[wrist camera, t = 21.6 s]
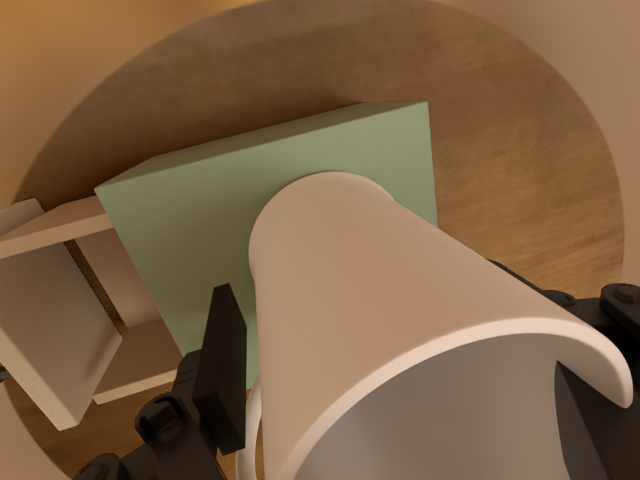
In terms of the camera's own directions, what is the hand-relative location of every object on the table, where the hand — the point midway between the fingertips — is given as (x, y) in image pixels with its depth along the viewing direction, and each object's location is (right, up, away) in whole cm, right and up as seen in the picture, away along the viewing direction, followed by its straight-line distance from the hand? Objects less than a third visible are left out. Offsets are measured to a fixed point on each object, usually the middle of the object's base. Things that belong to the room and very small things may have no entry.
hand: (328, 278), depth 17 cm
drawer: (-14, 0, +8) cm, 17 cm away
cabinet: (-3, +4, +10) cm, 11 cm away
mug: (-1, 0, +1) cm, 2 cm away
